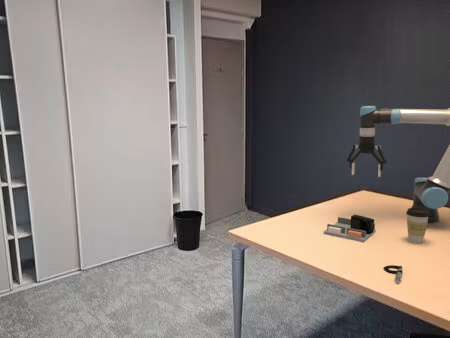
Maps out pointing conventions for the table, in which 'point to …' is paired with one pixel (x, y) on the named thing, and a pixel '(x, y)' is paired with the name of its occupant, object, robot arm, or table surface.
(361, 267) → the table surface
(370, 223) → the digital camera
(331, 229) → the docking board
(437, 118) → the robot arm
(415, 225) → the coffee cup
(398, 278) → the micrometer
